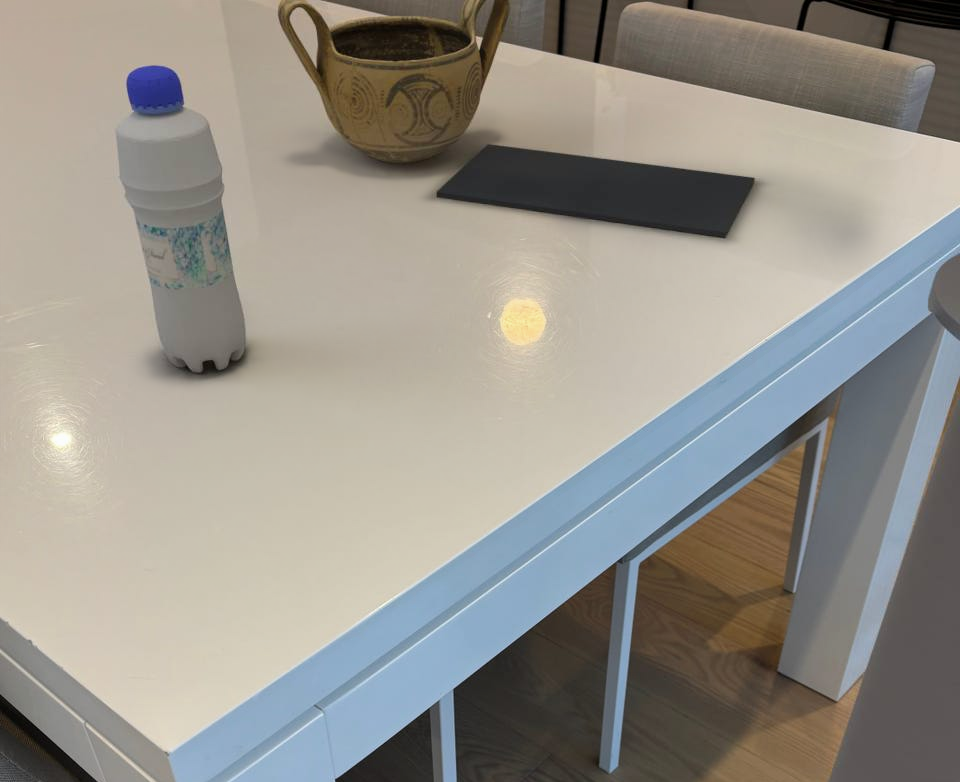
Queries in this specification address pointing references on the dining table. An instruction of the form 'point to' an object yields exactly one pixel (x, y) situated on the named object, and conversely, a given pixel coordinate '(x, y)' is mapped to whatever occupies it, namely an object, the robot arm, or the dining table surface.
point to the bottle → (180, 221)
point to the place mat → (601, 189)
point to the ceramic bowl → (400, 77)
